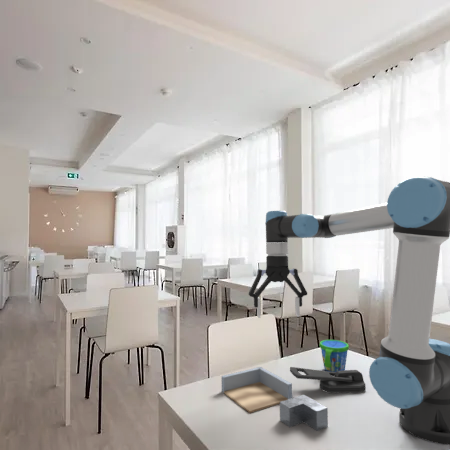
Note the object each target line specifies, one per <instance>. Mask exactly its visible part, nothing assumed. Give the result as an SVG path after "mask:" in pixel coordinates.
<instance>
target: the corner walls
mask: <svg viewBox="0 0 450 450" xmlns="http://www.w3.org/2000/svg"><path fill="white" fill-rule="evenodd" d="M257 382H261V383H263V384H264V385H266V386H268V387H269V388H271V389H273V390H274V391H276V392H278V393H279V394H281V395H283V396H284V397H286V398H287V399H291V398H293V390H292V389H293V387H292V386H293V384H292V383H291V382H290V381H288V380H287V379H285V378H282V377H280V376H278V375H277V374H275V373H273V372H272V371H269V370H267V369H266V368H264V367H262V366H257V367H254V368H250V369H245V370H241V371H238V372H233V373H232V372H231V373H229V374H224V375H221V392H222V393H223V394H224V391H227V390H231V389H234V388H238V387H242V386H246V385H250V384H253V383H257Z"/></svg>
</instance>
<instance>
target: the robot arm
mask: <svg viewBox="0 0 450 450" xmlns="http://www.w3.org/2000/svg"><path fill="white" fill-rule="evenodd" d="M387 229H393V230H392V234H393V235H394V236H395V237H396V238H397V239H398V247H397V257H396V263H395V264H396V265H395V273H394V274H395V275H394V283H393V293H392V302H391V310H390V321H389V329H388V335H386V336H385V337H384V338H382V339H381V340H380V346H379V347H380V349H379V356H378V357H377V358H375V359H374V360H373V361H372V362H371V364H370V366H369V371H368V372H369V375H368V376H369V380H370V383H371V385H372V387H373V389H374V390H375V391H376V393H377V395H378V396H379V397H380V398H381V399H382V400H383V401H384V402H386V403H387V404H388V405H390V406H392V407H394V408H397V409H399V413H398V416H399V419H398V420H399V424H400V426H401V427H402V428H403V429H404V430H405V431H406V432H408V433H409V434H411V435H413V436H414V437H417V438H419V439H422V440H424V441H427V442H431V443H435V444H442V445H450V343H449V342H446V341H442V340H440V339H435V338H434V339H433V338H431V330H432V329H431V328H432V319H433V310H434V303H435V294H436V287H437V276H438V267H439V260H440V250H441V245H442V244H443V243H444V242H447V240H449V239H450V181H449V182H448V181H445V180H444V181H443V180H440V179H436V178H434V177H432V176H431V177H429V176H413V177H409V178H406V179H404V180H402V181H401V182H399V183H398V184H397V185H395V186H394V188H393V189H392V190H391V192H390V193H389V195H388V198H387V201H386V202H385V203H381V204H375V205H370V206H365V207H362V208H357V209H350V210H346V211H341V212H336V213H332V214H327V215H313V214H312V213H300V214H294V215H288V213H287V211H286V210H271V211H267V212H266V215H265V243H266V246H265V251H266V252H265V253H266V260H265V261H266V263H265V264H266V268H265V269H260V268H259V269H257V273H256V276H255V279H254V281H253V283H252V285H251V287H250V289H249V292H248V296H249V297H252V298H253V307H254V308H256V316H257V318H258V319H261V298H260V295H261V294H262V293H263V292H264V291H265V289H266V288H267V287H268V286H269V285H270V284H271V282H273V283H278V282H279V283H286V284H287V285H288V287H289V288H290V289H291V290H292V292H294V294H295V295H296V296H294V298H295V299H294V308H295V316H296V317H297V318H299V317H300V316H301V315H300V307H302V306H303V297H305V296H307V295H308V292H307V289H306V288H305V286H304V284H303V282H302V279H301V278H300V276H299V271H298V269H297V268H292V269H291V268H289V257H288V255H287V254H289V246H288V245H289V244H288V240H289V239H291V238H292V239H296V238H297V239H299V238H301V239H307V238H308V239H310V238H319V239H320V238H322V239H323V238H324V239H330V238H331V239H332V238H334V237H336V236H345V235H352V234H360V233H366V232H373V231H381V230H382V231H383V230H387ZM289 274H291V276H293V279H294V280H295V283H296V284H297V286H298V288H299V290H298V288H297V287H296V286H295V284H294V283H293V282H292V281H291V280H290V278H289V277H288V276H289ZM264 275H266V276H267V277H266V278H265V280H264V281H263V282H262V284H261V285H260V286H259V287H258V285H259V283H260V281H261V278H262V276H264ZM257 287H258V288H257ZM256 289H257V290H256ZM300 291H301V292H300Z"/></svg>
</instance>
